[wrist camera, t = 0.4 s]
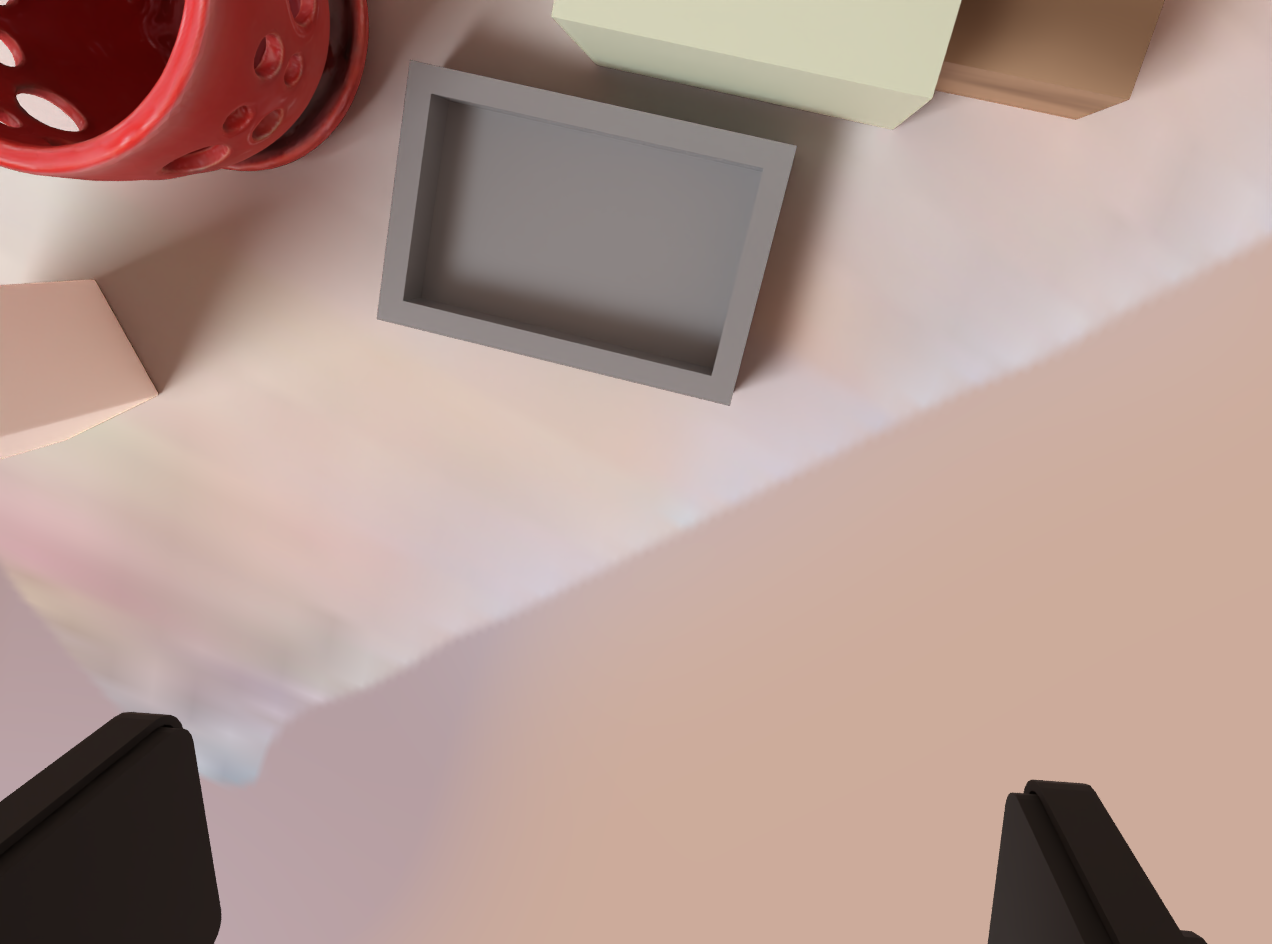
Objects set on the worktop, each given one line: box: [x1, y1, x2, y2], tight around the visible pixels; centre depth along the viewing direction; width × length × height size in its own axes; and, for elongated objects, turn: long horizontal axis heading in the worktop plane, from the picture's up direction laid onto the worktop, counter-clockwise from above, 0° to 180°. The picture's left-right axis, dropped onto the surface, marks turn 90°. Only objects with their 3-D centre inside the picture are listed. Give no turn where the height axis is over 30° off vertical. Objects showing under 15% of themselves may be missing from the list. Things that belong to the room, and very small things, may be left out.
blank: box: [935, 0, 1165, 120], centre depth 30 cm, size 5×10×5 cm, turn 78°
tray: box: [377, 60, 797, 406], centre depth 34 cm, size 10×15×3 cm, turn 77°
